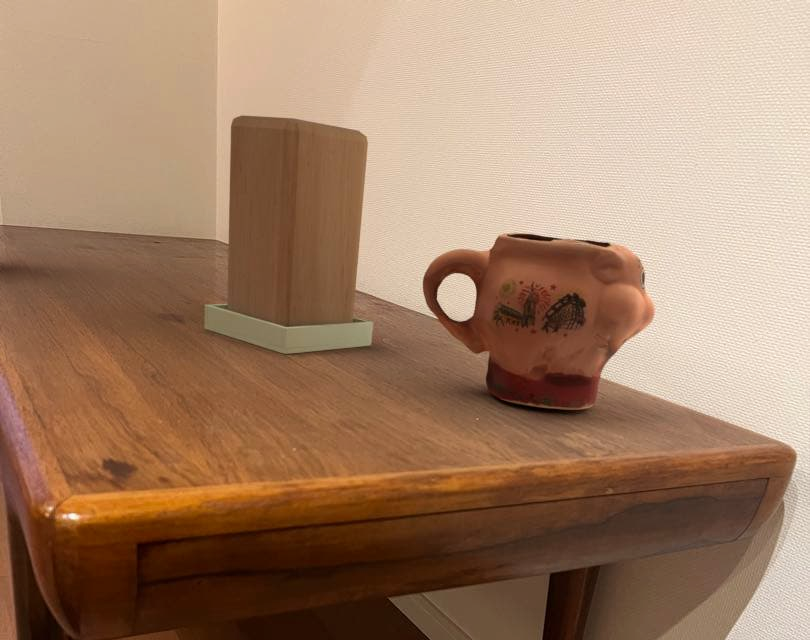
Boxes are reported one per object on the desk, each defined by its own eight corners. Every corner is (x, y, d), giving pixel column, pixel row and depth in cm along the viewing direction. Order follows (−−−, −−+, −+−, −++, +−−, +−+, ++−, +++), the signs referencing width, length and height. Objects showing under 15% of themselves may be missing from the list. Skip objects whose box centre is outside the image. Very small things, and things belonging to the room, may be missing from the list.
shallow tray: (204, 328, 83) (204, 304, 82) (292, 323, 92) (293, 301, 91) (284, 354, 76) (286, 328, 75) (371, 345, 85) (373, 322, 84)
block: (223, 324, 83) (226, 113, 75) (297, 322, 90) (308, 128, 82) (280, 344, 77) (291, 117, 69) (354, 340, 84) (373, 132, 76)
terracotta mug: (418, 406, 63) (441, 224, 58) (404, 372, 74) (422, 216, 69) (651, 427, 66) (695, 254, 60) (604, 391, 77) (638, 242, 71)
